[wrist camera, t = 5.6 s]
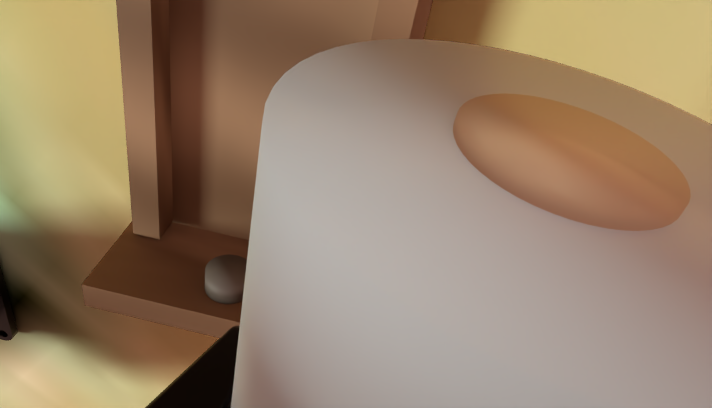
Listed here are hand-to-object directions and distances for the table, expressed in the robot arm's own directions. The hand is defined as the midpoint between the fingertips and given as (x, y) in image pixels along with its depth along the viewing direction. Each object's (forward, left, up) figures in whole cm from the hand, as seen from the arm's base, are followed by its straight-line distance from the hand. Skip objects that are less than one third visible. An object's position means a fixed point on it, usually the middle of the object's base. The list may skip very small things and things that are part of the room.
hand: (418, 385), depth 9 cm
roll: (0, 0, -1) cm, 1 cm away
